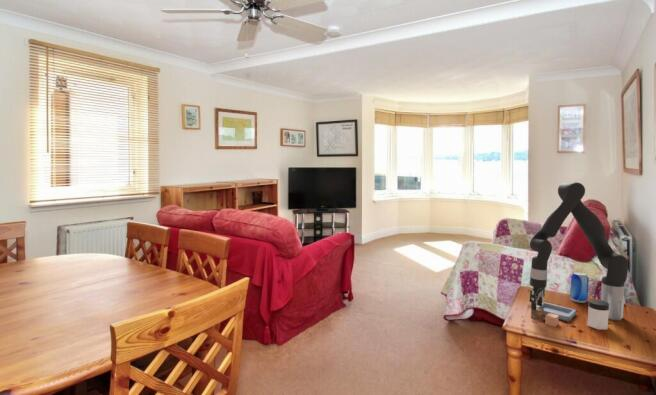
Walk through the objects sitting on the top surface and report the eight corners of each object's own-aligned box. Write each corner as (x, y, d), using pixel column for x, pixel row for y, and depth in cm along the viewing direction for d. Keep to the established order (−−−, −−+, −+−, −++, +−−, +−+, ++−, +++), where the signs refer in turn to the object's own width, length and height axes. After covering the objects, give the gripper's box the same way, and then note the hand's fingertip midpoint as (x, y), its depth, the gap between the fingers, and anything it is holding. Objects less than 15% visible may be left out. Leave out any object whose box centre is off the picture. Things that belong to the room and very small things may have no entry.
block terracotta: (558, 324, 186) (558, 315, 185) (555, 327, 183) (555, 318, 182) (548, 321, 189) (548, 312, 189) (545, 324, 186) (545, 315, 186)
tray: (575, 314, 197) (576, 309, 197) (568, 321, 188) (568, 317, 188) (542, 306, 209) (542, 301, 208) (533, 312, 200) (534, 308, 200)
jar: (612, 328, 181) (613, 303, 180) (602, 331, 177) (604, 306, 176) (592, 321, 189) (593, 297, 188) (582, 324, 185) (584, 300, 184)
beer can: (590, 303, 212) (592, 275, 210) (575, 303, 212) (577, 275, 210) (581, 297, 220) (582, 271, 219) (566, 298, 220) (568, 271, 219)
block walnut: (543, 317, 194) (543, 308, 194) (540, 319, 191) (540, 311, 191) (533, 314, 198) (534, 306, 197) (530, 316, 195) (531, 308, 194)
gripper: (541, 281, 185) (539, 313, 187) (551, 275, 195) (549, 306, 196) (525, 278, 191) (523, 309, 192) (535, 272, 200) (533, 302, 202)
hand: (536, 307), depth 194 cm, fingers open, 8 cm apart
